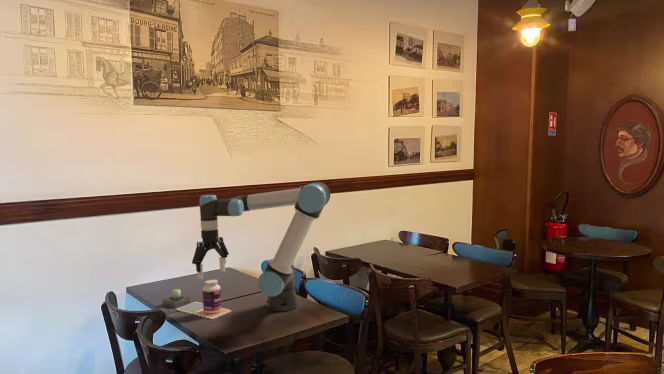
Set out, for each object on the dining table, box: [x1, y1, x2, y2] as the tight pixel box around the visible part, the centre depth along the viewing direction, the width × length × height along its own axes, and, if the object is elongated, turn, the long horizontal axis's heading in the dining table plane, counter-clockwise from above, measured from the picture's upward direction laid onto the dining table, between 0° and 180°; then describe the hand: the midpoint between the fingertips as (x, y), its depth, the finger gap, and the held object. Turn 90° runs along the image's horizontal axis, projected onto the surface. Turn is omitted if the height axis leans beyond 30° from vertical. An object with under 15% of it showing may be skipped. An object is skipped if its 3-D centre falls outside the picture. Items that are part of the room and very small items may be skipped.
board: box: [175, 301, 232, 320], centre depth 223 cm, size 24×12×1 cm, turn 58°
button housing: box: [162, 294, 191, 309], centre depth 233 cm, size 9×9×3 cm
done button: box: [170, 288, 182, 300], centre depth 233 cm, size 4×4×4 cm
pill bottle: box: [202, 279, 222, 314], centre depth 219 cm, size 8×8×14 cm
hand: (211, 274), depth 218 cm, fingers open, 13 cm apart
